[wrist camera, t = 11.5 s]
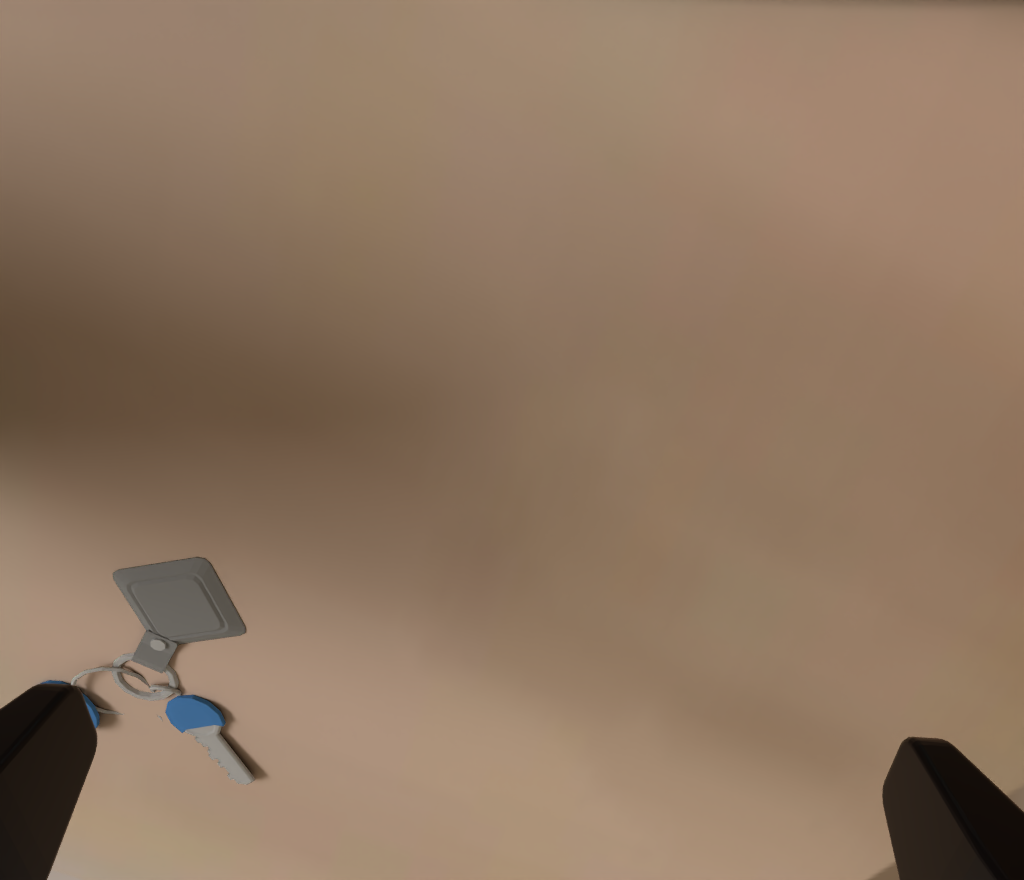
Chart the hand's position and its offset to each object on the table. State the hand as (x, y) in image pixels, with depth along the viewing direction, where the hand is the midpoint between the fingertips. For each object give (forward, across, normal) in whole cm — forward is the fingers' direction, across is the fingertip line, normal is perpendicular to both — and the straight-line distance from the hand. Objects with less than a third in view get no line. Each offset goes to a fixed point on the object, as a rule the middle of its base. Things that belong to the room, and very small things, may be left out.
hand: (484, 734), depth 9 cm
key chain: (+13, +12, +15) cm, 23 cm away
